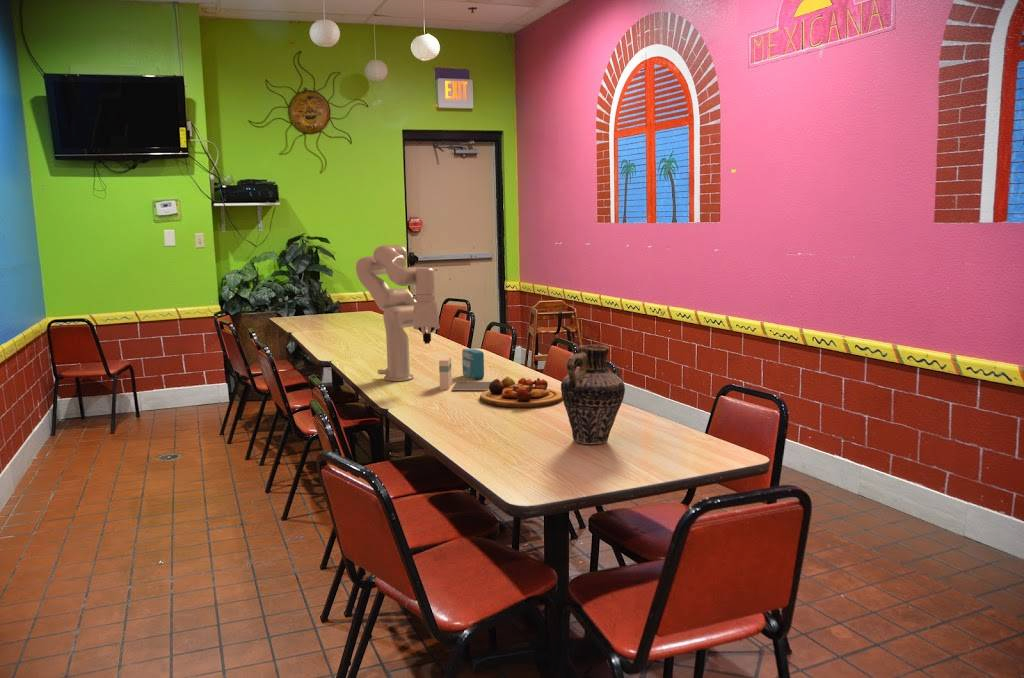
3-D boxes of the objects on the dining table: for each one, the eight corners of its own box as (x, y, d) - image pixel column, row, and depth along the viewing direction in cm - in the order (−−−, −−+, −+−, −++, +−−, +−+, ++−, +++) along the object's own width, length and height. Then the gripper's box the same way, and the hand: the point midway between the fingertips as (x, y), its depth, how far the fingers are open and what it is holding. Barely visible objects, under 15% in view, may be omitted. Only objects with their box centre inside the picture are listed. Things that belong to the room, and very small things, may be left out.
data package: (462, 375, 357) (461, 348, 355) (471, 374, 359) (471, 347, 357) (475, 380, 347) (474, 352, 345) (484, 378, 349) (483, 351, 347)
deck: (439, 389, 328) (439, 360, 327) (443, 384, 337) (442, 356, 336) (448, 389, 328) (448, 360, 326) (451, 384, 337) (451, 356, 335)
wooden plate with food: (556, 411, 291) (556, 388, 290) (470, 406, 298) (470, 384, 297) (568, 393, 322) (569, 373, 321) (490, 390, 329) (490, 370, 328)
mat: (451, 391, 325) (451, 389, 324) (456, 383, 340) (456, 381, 340) (498, 391, 323) (498, 389, 323) (501, 383, 339) (501, 381, 339)
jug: (584, 429, 264) (584, 339, 260) (636, 439, 252) (637, 344, 247) (546, 444, 248) (545, 347, 244) (599, 455, 236) (600, 353, 232)
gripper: (405, 299, 324) (407, 344, 327) (442, 299, 323) (444, 344, 326) (409, 298, 332) (410, 342, 334) (445, 297, 331) (446, 341, 333)
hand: (427, 343), depth 330 cm, fingers closed
